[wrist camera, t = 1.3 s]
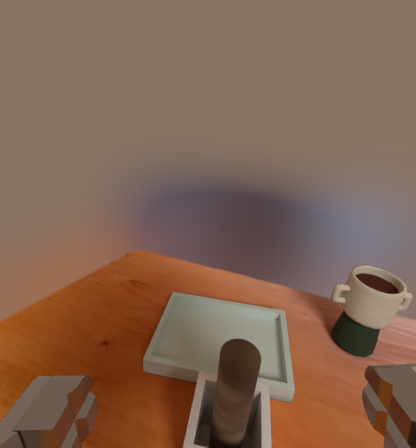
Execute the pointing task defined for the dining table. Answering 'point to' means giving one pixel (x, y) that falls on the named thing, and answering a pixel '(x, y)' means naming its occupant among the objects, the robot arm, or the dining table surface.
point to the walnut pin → (234, 393)
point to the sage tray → (219, 340)
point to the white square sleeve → (203, 410)
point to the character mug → (367, 307)
